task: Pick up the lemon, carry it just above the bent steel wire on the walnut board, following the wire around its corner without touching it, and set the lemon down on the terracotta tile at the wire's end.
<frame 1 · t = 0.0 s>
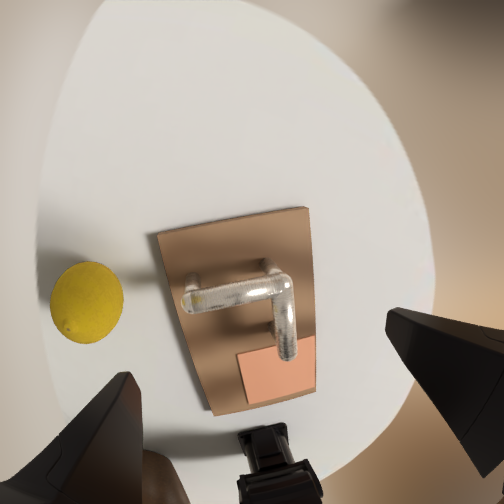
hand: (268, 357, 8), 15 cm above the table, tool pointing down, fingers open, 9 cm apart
lemon: (103, 279, 21), on the table
terracotta tile: (277, 366, 27), resting on walnut board
plant pot: (147, 459, 29), on the table
walnut board: (251, 329, 25), on the table
bent wire: (234, 299, 24), resting on walnut board
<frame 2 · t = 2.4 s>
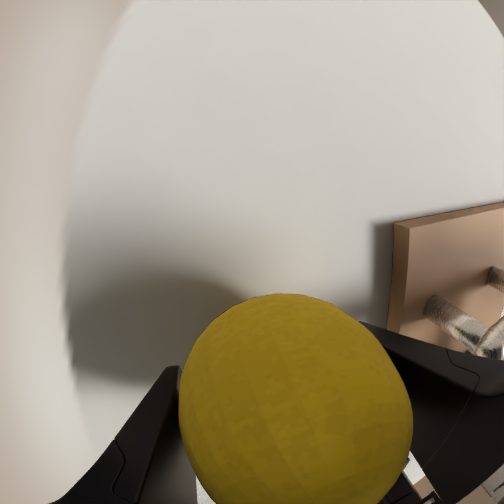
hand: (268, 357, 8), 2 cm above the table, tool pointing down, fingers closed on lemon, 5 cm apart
lemon: (255, 324, 10), on the table, touching gripper
walnut board: (441, 363, 14), on the table
bent wire: (444, 327, 13), resting on walnut board
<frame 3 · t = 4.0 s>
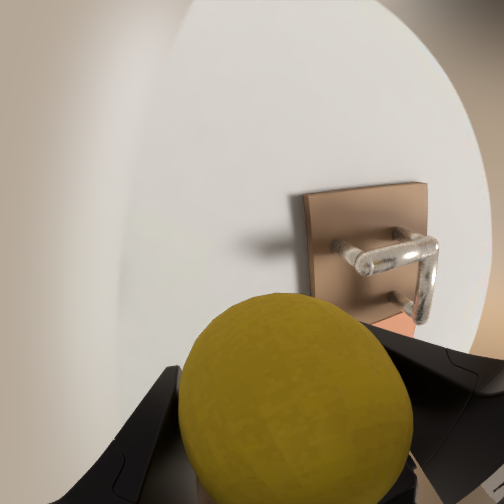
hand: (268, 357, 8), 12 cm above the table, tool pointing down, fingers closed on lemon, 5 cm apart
lemon: (255, 324, 10), point 10 cm above the table, touching gripper
terracotta tile: (381, 341, 25), resting on walnut board
walnut board: (370, 301, 23), on the table
bent wire: (362, 269, 22), resting on walnut board
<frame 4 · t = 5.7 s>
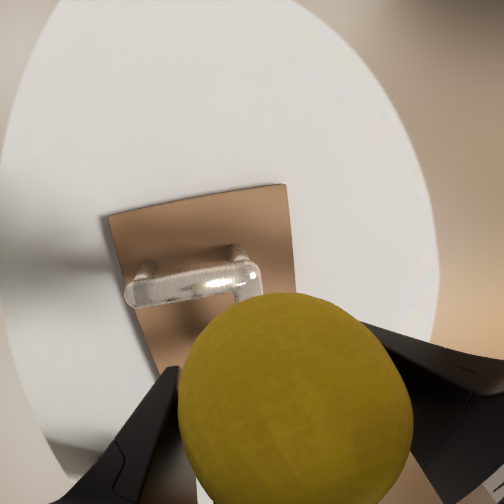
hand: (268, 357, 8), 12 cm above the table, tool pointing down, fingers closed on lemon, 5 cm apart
lemon: (255, 323, 10), point 10 cm above the table, touching gripper
walnut board: (221, 329, 21), on the table
bent wire: (200, 293, 20), resting on walnut board
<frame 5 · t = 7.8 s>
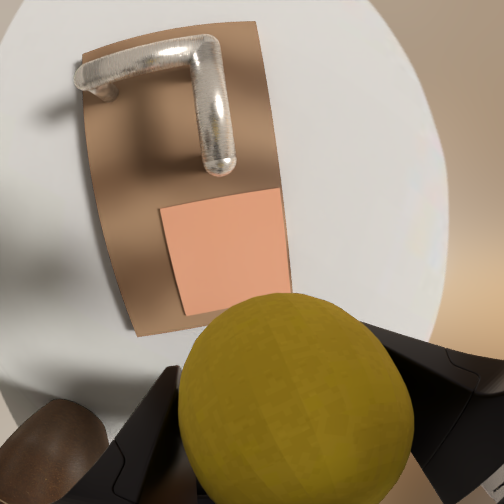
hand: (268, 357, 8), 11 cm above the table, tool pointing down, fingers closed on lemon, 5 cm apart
lemon: (255, 324, 10), point 9 cm above the table, touching gripper
terracotta tile: (227, 249, 19), resting on walnut board
plant pot: (75, 417, 21), on the table
walnut board: (184, 175, 17), on the table
bent wire: (161, 127, 16), resting on walnut board
when the fingers open (4 cm above the table, at t = 9.4 s): lemon drops 1 cm, resting on terracotta tile.
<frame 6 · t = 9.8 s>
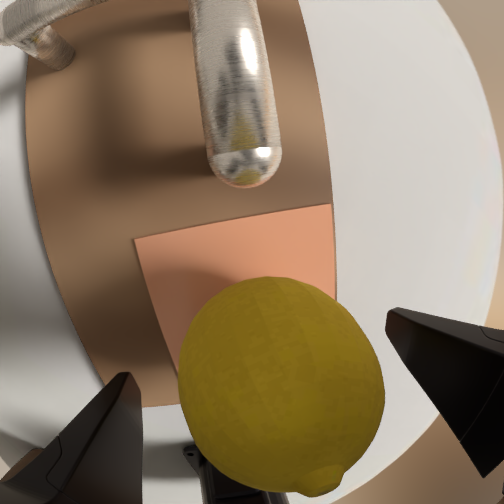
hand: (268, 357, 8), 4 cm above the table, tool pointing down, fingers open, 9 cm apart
lemon: (249, 309, 11), point 1 cm above the table, touching terracotta tile
terracotta tile: (245, 297, 12), resting on walnut board
plant pot: (62, 466, 15), on the table
walnut board: (175, 181, 10), on the table
bent wire: (139, 103, 9), resting on walnut board
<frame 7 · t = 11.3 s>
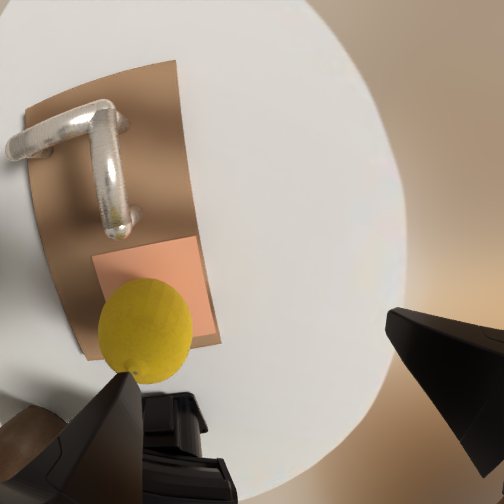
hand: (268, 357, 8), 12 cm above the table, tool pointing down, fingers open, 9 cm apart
lemon: (154, 297, 18), point 1 cm above the table, touching terracotta tile
terracotta tile: (156, 290, 19), resting on walnut board
plant pot: (50, 422, 21), on the table
walnut board: (113, 224, 17), on the table
bent wire: (91, 179, 16), resting on walnut board
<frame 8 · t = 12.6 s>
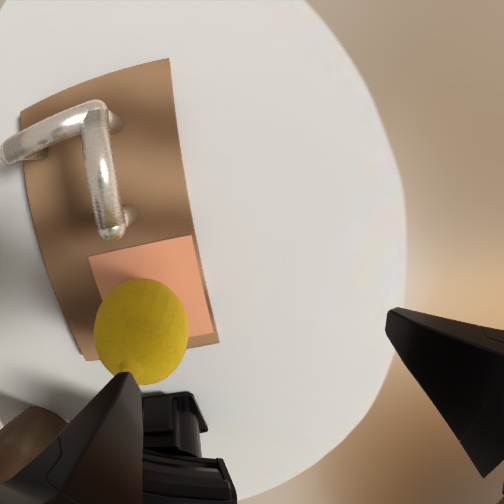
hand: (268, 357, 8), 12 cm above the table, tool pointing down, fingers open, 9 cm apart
lemon: (151, 297, 18), point 1 cm above the table, touching terracotta tile
terracotta tile: (153, 290, 19), resting on walnut board
plant pot: (51, 423, 22), on the table
walnut board: (108, 224, 17), on the table
bent wire: (87, 179, 16), resting on walnut board
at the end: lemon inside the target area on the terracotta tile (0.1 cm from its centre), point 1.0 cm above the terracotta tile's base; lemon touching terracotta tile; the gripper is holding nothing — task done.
